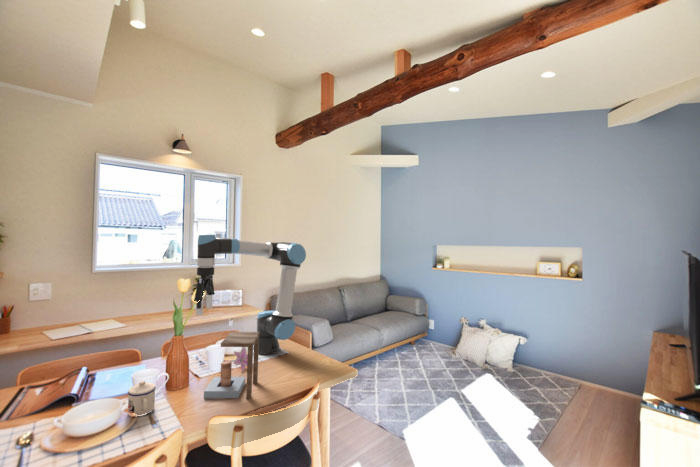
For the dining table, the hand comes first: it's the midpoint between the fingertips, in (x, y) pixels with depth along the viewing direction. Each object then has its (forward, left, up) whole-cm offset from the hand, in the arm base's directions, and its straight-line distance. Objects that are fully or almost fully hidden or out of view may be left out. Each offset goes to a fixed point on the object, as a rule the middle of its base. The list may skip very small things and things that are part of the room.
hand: (204, 311), depth 158 cm
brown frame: (+12, +20, -32) cm, 39 cm away
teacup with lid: (+30, -12, -32) cm, 45 cm away
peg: (+12, +14, -32) cm, 37 cm away
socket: (+12, +14, -32) cm, 37 cm away
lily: (-12, +16, -32) cm, 38 cm away
